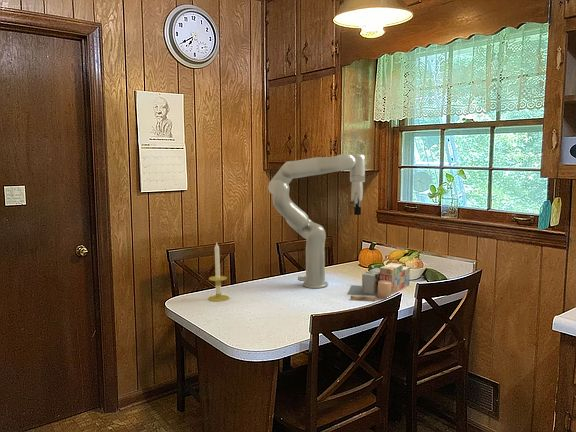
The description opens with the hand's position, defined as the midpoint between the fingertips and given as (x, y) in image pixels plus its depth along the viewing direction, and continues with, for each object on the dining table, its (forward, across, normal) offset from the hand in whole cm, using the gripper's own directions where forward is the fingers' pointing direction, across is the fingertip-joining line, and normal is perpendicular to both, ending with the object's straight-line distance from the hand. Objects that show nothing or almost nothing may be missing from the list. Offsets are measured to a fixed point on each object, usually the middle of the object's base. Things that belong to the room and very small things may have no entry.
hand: (357, 214), depth 247 cm
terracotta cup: (+35, +26, +15) cm, 46 cm away
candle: (+35, +44, -59) cm, 82 cm away
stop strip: (+35, +33, +6) cm, 49 cm away
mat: (+35, +18, +6) cm, 40 cm away
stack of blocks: (+35, +11, +19) cm, 42 cm away
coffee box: (+30, +23, +8) cm, 39 cm away
